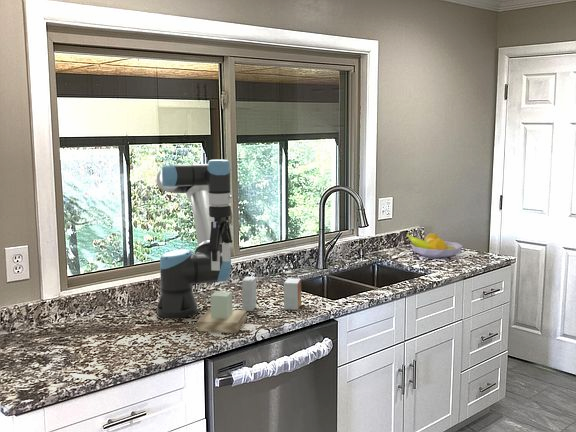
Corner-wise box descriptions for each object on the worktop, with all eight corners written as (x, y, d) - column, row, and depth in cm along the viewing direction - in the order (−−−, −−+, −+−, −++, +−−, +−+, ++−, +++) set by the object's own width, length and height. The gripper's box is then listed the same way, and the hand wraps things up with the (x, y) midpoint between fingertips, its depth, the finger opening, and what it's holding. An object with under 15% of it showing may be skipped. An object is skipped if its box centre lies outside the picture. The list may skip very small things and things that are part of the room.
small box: (297, 310, 231) (297, 283, 230) (283, 309, 232) (283, 282, 231) (301, 304, 239) (301, 278, 237) (287, 303, 240) (287, 277, 238)
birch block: (197, 332, 209) (197, 321, 208) (209, 319, 223) (208, 309, 222) (237, 334, 207) (237, 323, 206) (246, 321, 220) (246, 310, 220)
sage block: (211, 317, 212) (210, 295, 211) (216, 312, 218) (215, 290, 217) (227, 318, 211) (227, 296, 210) (232, 313, 217) (232, 291, 215)
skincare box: (245, 306, 237) (245, 276, 235) (257, 306, 236) (256, 276, 234) (241, 311, 231) (240, 279, 229) (252, 311, 230) (252, 280, 228)
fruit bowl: (467, 253, 330) (468, 232, 328) (452, 263, 307) (452, 241, 306) (417, 248, 345) (418, 228, 343) (399, 257, 322) (400, 236, 320)
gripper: (220, 210, 196) (221, 274, 199) (239, 200, 220) (240, 258, 223) (197, 210, 197) (199, 273, 200) (219, 200, 221) (220, 257, 224)
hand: (221, 265), depth 212 cm, fingers open, 13 cm apart
